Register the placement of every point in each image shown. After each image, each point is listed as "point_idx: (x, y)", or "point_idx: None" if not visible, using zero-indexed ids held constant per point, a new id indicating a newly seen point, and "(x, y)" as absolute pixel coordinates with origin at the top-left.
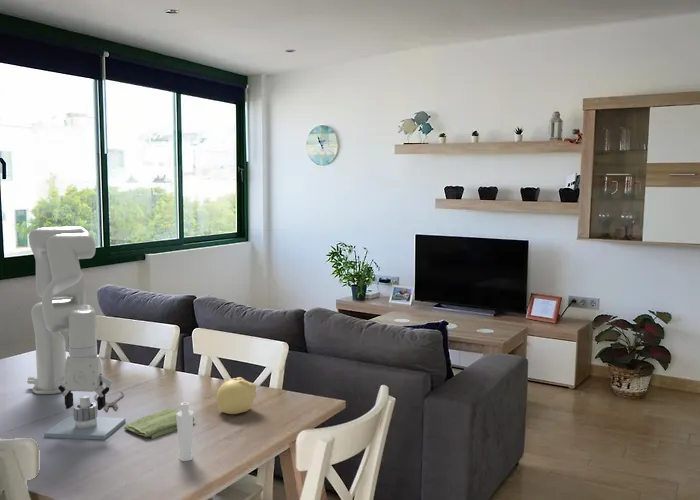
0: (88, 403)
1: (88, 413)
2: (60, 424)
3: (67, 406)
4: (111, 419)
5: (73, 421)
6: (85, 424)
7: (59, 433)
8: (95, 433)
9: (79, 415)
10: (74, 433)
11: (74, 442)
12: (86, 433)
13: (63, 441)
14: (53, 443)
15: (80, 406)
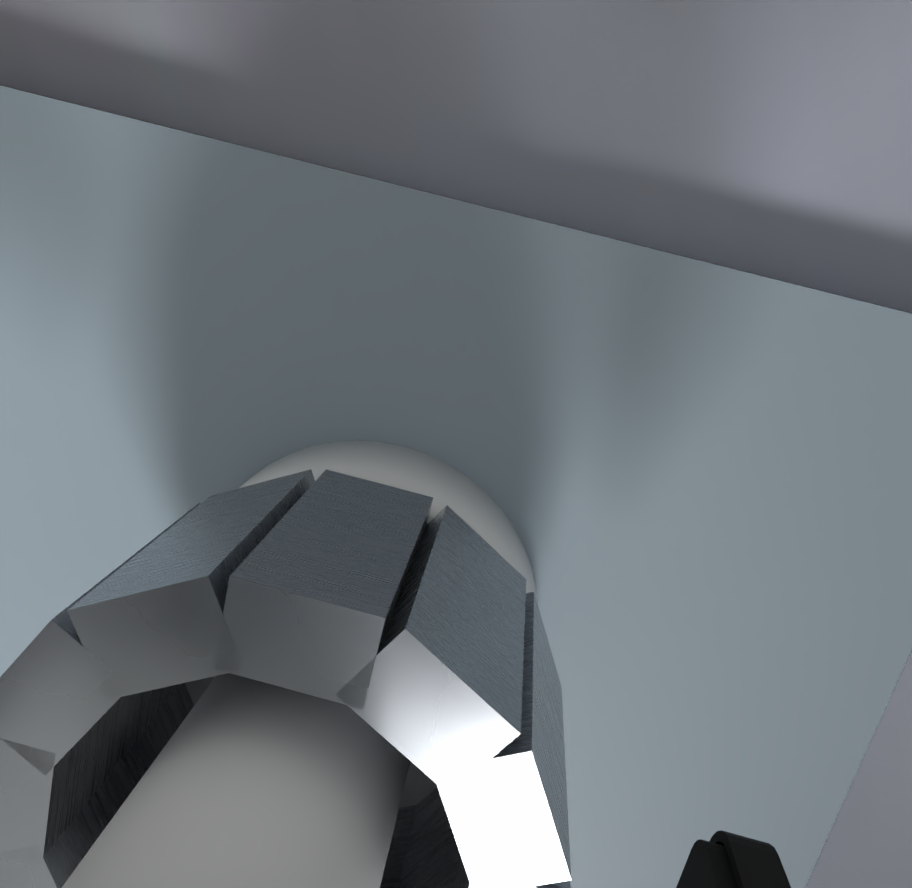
0: (84, 862)
1: (143, 553)
2: (807, 725)
3: (739, 880)
4: None
5: (615, 813)
6: (304, 467)
7: (745, 289)
8: (91, 191)
9: (366, 533)
10: (466, 251)
11: (418, 9)
12: (249, 216)
13: (623, 86)
14: (785, 3)
15: (352, 821)
